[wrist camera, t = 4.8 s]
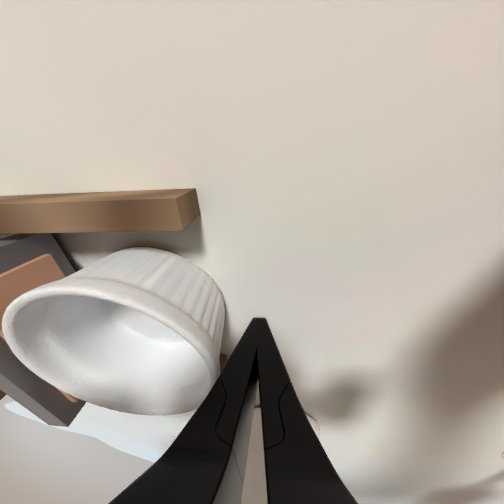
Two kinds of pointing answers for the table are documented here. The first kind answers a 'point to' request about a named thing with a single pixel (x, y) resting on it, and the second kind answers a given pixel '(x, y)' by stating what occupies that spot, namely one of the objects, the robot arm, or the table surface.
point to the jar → (259, 462)
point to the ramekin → (124, 332)
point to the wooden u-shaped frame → (100, 214)
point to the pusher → (3, 294)
